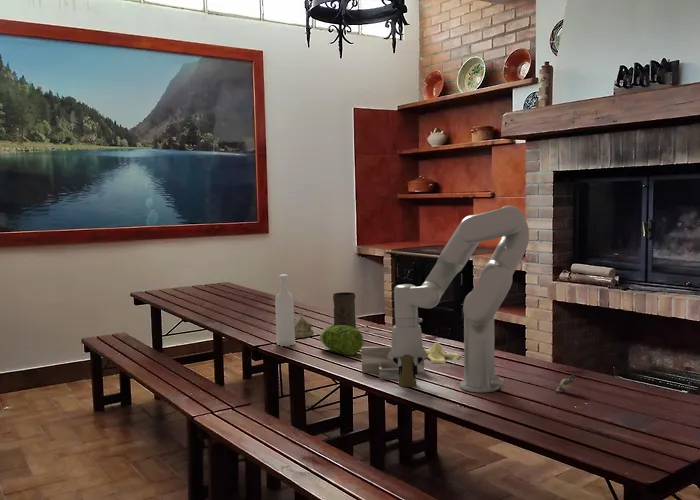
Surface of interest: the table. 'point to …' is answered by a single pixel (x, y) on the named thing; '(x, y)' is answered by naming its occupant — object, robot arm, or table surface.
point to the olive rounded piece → (407, 372)
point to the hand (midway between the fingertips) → (408, 376)
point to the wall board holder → (382, 363)
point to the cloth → (440, 354)
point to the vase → (566, 383)
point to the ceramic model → (302, 327)
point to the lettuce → (342, 339)
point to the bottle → (284, 314)
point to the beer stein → (344, 309)
